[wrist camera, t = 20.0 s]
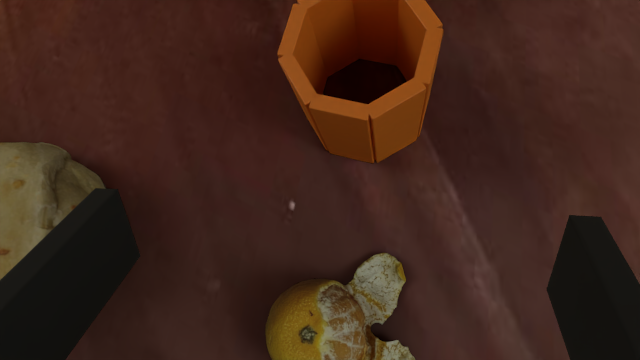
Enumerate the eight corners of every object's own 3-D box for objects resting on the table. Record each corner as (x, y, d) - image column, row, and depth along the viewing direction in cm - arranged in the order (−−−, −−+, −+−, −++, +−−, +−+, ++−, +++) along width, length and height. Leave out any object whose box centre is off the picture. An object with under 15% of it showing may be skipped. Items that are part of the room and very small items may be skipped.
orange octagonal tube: (449, 121, 29) (471, 62, 21) (344, 182, 29) (328, 145, 21) (386, 30, 31) (385, -54, 23) (289, 87, 31) (255, 22, 23)
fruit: (419, 400, 26) (423, 419, 22) (273, 406, 27) (256, 425, 23) (402, 251, 27) (404, 246, 24) (267, 262, 28) (250, 259, 25)
